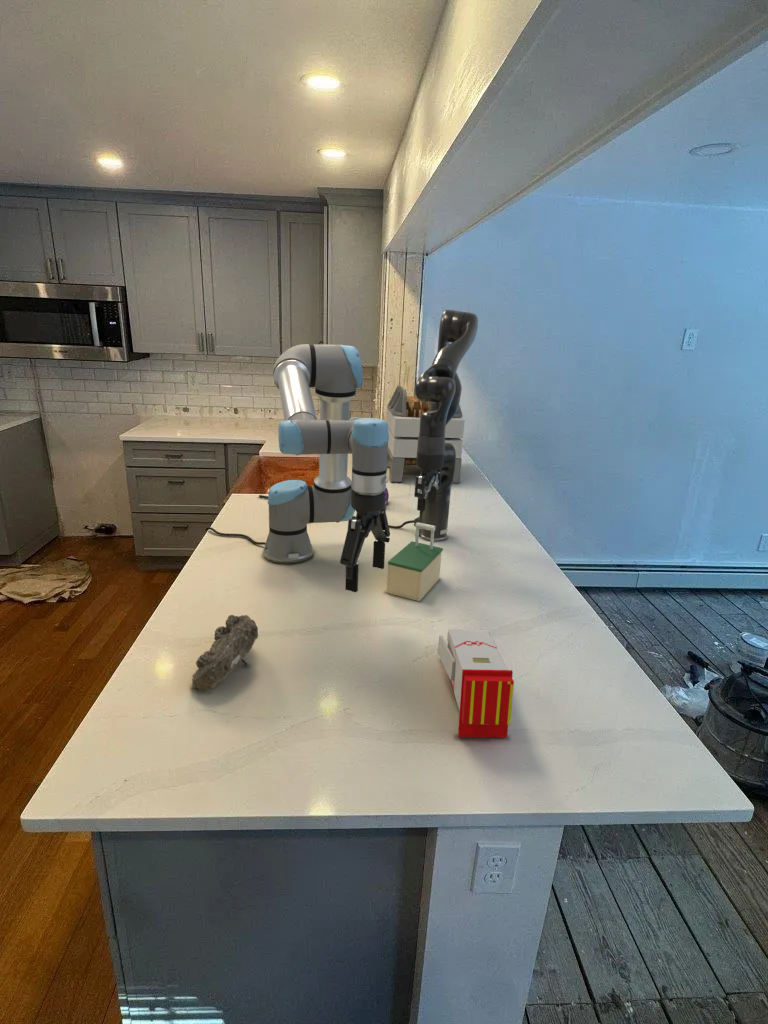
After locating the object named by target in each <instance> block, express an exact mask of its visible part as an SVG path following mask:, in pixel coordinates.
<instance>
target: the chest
mask: <svg viewBox="0 0 768 1024" xmlns="http://www.w3.org/2000/svg"><path fill="white" fill-rule="evenodd" d="M441 563H442V552H441V553H440V554H439V555H438V556H437V557H436V558H435V559H434V560H433V561H432V562H431V563H430V564H429V565H428V566H427V567H426V568H425V569H424V570H423V571H422V572H418V571H414V570H410V569H406V568H402V567H398V566H393V565H389V564H388V563H387V578H386V579H387V580H386V593H387V594H390V595H394V596H397V597H401V598H404V599H409V600H412V601H418V602H420V601H422V599H423V598H424V597H425V596H426V595H427V594H428V592H429V591H430V590H431V589H432V588H433V587H434V586H435V584H436V583H437V582H438V581H439V580H440V577H441V575H440V573H441V565H442V564H441Z"/></svg>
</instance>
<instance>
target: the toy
mask: <svg viewBox="0 0 768 1024" xmlns="http://www.w3.org/2000/svg"><path fill="white" fill-rule="evenodd" d="M446 640H447V643H446V641H445V639H444V636H443V635H442V634H439V637H438V646H437V656H438V657H439V659H440V661H441V663H442V666H443V668H444V670H445V672H446V674H447V677H448V679H449V681H450V684H451V687H452V690H453V693H454V697H455V701H456V705H457V708H458V711H459V714H458V715H459V716H458V730H457V731H458V732H457V737H458V738H508V731H509V726H510V725H511V717H512V707H513V697H514V696H513V695H514V684H515V680H514V679H513V673H514V671H513V670H512V669H508V667H507V665H506V662H505V661H504V659H503V658H502V655H501V653H500V651H499V649H498V647H497V643H496V639H495V637H494V635H493V634H491V632H490V631H489V629H467V628H466V629H465V628H463V629H461V628H460V629H459V628H448V630H447V639H446Z"/></svg>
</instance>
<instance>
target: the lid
mask: <svg viewBox="0 0 768 1024" xmlns="http://www.w3.org/2000/svg"><path fill="white" fill-rule="evenodd" d="M414 527H415V541H410V542H408V544H407V545H406V546H404V547H403V548H402V549H401V550H400V551H398V552H397V553H396V554H395V555H394V556H393V557H391V558H390V559H389V560H388V561H387V565H388V564H389V565H393V566H398V567H402V568H406V569H410V570H414V571H418V572H422V571H423V570H424V569H425V568H426V567H427V566H428V565H429V564H430V563H431V562H432V561H433V560H434V559H435V558H436V557H437V556H438V555H439V554H440V553H441V554H442V552H443V550H444V548H443V547H441V546H435V545H434V541H433V540H434V531H435V526H433V525H428V524H423V523H418V522H417V523H416V525H415V526H414ZM419 528H420V529H425V530H430V531H431V540H429V541H430V542H429V544H426V543H421V542H419V538H420V536H419Z"/></svg>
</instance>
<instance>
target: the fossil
mask: <svg viewBox="0 0 768 1024" xmlns="http://www.w3.org/2000/svg"><path fill="white" fill-rule="evenodd" d="M258 630H259V627H258V626H257V623H256V621H255V620H254V619H252V618H251V617H250V616H249V615H248V614H244V615H243V614H242V615H239V616H238V615H234V614H229V615H228V616H227V618H226V620H225V626H224V625H221V626H218V627H217V628H216V629H215V631H214V635H213V637H214V638H213V639H214V641H213V642H212V644H211V646H210V648H209V650H207V651H204V653H203V654H201V655H199V656H198V658H197V660H196V661H195V664H196V667H197V668H198V669H197V670H196V671H195V673H193V675H192V679H191V680H192V687H193V688H195V689H198V690H199V691H200V690H202V691H203V690H207V689H210V688H212V689H213V688H215V687H217V685H218V684H219V683H220V682H222V681H223V680H224V679H225V678H226V677H227V676H228V675H229V674H230V673H231V672H232V671H234V670H235V669H236V667H237V666H238V663H240V662H242V664H244V666H248V663H247V662H246V660H245V659H244V657H245V655H246V654H248V653H250V651H251V650H252V648H253V645H254V644H255V642H256V640H257V639H258V637H259V632H258Z"/></svg>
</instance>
